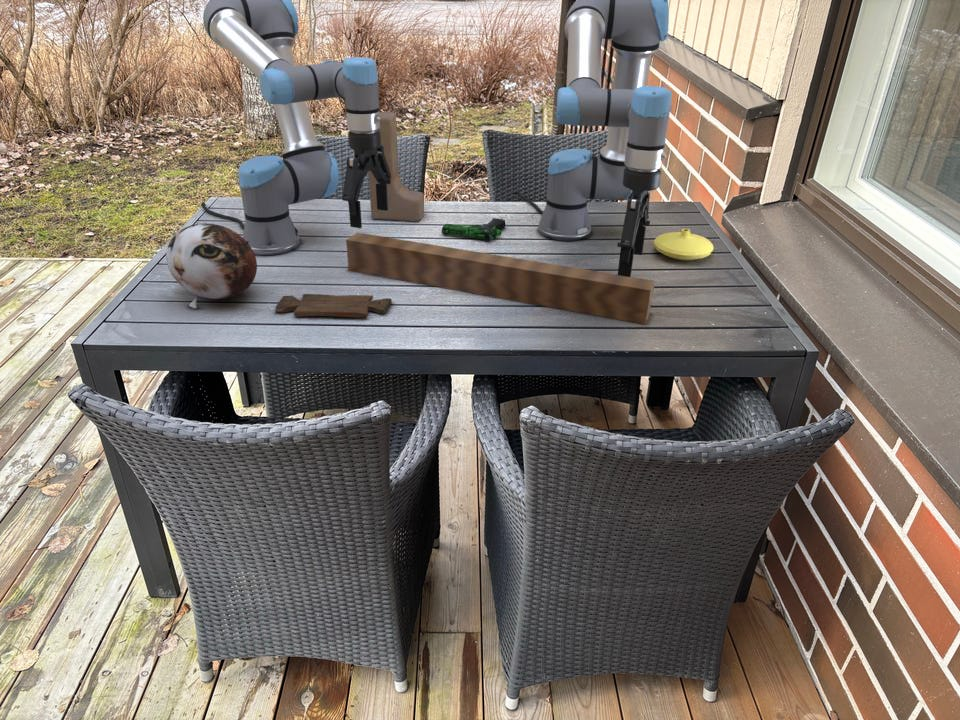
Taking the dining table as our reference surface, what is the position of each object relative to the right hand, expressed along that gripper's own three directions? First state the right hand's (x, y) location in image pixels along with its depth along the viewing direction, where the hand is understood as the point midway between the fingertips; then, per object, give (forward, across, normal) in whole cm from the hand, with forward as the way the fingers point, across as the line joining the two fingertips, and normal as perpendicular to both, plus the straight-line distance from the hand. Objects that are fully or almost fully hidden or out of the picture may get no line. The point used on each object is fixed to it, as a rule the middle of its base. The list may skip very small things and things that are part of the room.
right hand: (630, 264), depth 157 cm
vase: (+12, +42, -8) cm, 45 cm away
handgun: (+12, +36, +50) cm, 63 cm away
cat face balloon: (+13, -27, +91) cm, 96 cm away
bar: (+12, 0, +32) cm, 35 cm away
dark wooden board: (+13, -23, +63) cm, 68 cm away
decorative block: (+12, +39, +77) cm, 87 cm away
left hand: (-1, 0, +65) cm, 65 cm away
